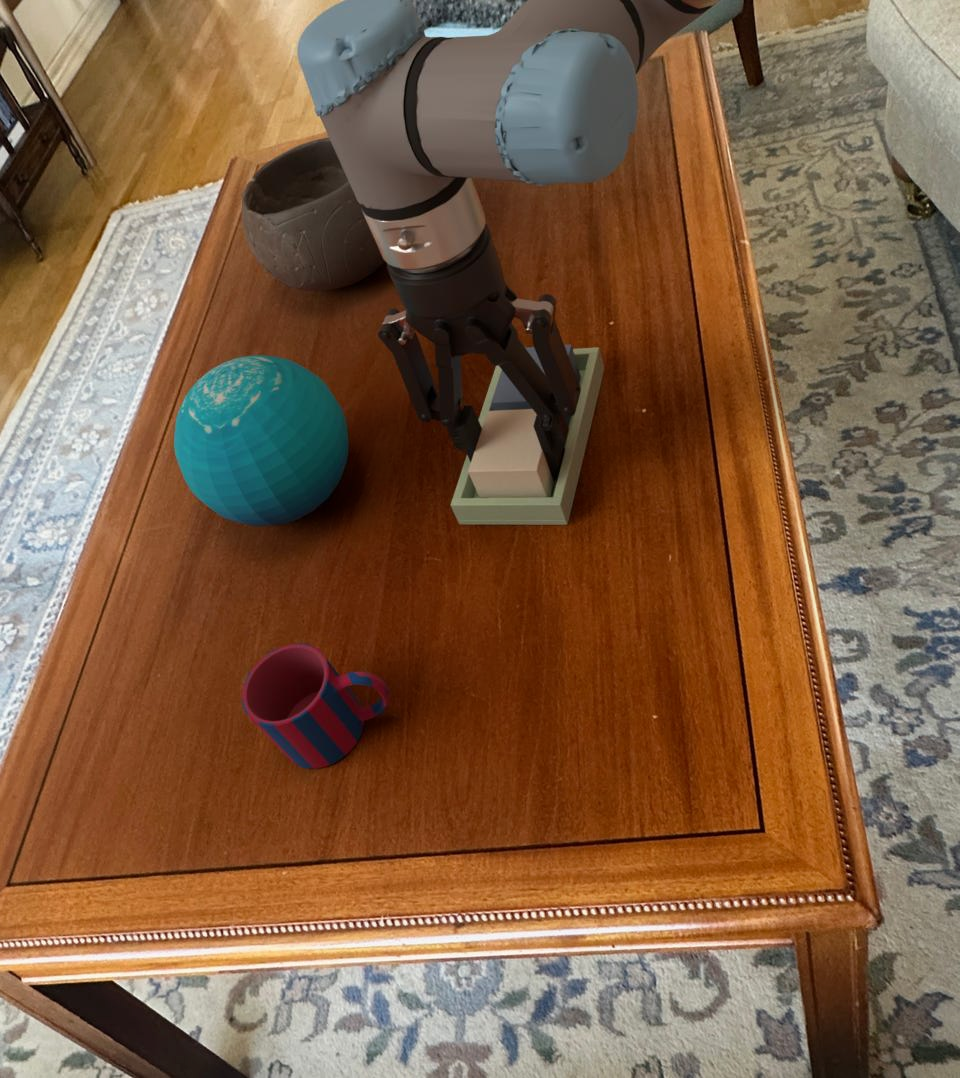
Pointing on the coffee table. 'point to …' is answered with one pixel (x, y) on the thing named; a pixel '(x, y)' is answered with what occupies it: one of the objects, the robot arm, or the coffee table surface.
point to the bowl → (308, 221)
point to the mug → (309, 704)
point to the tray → (563, 491)
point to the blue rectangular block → (511, 397)
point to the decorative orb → (261, 440)
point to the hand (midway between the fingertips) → (522, 469)
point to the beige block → (510, 457)
